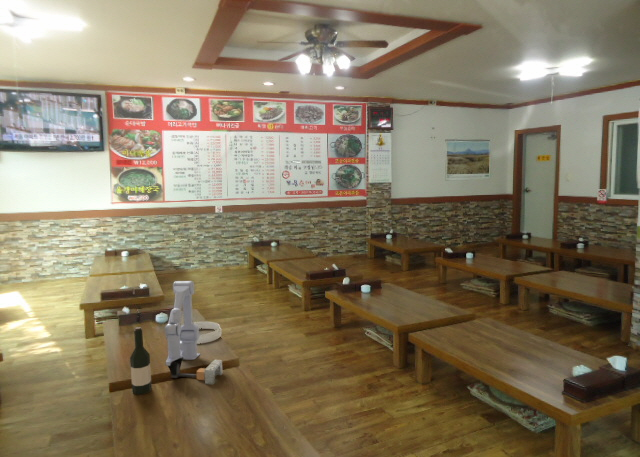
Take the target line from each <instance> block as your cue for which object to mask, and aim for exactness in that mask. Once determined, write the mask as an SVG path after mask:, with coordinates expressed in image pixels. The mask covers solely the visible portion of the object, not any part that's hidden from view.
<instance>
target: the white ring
mask: <svg viewBox="0 0 640 457" xmlns="http://www.w3.org/2000/svg"><path fill="white" fill-rule="evenodd" d="M193 323H194V324H196V325H197V326H198V328H200V329H199V330H204V329H206V330H214V331H211V332H208V333H203V334H201V333H200V335H199V339H198V340H197V345H199V344H200V343H201V344H207V343H210V342H214V341H216V340H218V339H219V338H220V337H221V336H222V333H223V332H222V328H221V326H220V324H219V323H218V322H216V321H207V320H205V321H193ZM201 328H202V329H201Z"/></svg>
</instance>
